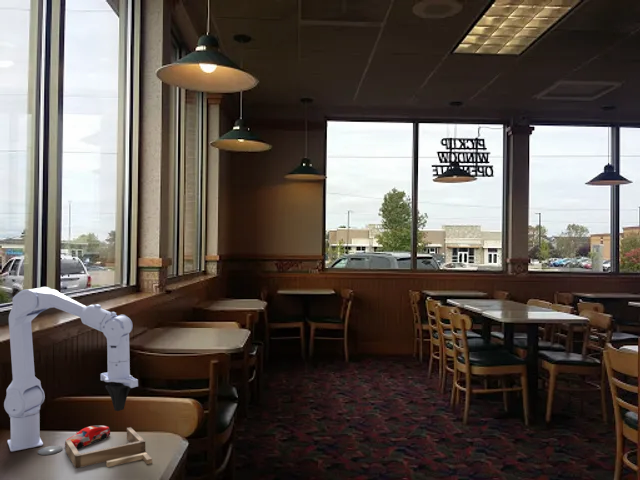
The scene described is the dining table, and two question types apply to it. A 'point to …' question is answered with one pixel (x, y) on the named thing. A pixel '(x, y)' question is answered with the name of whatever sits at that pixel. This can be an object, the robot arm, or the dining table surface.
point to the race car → (89, 436)
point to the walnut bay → (106, 451)
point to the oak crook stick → (130, 459)
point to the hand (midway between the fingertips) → (119, 409)
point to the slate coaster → (50, 450)
